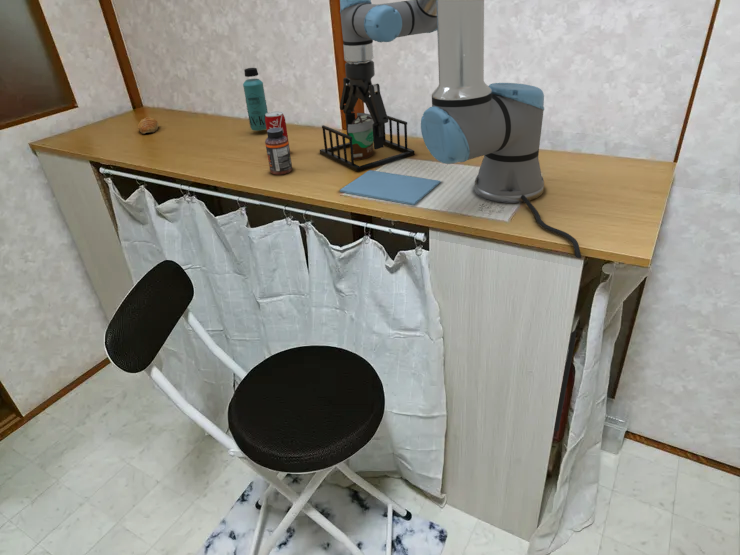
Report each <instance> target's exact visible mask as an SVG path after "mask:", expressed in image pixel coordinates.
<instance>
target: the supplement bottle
mask: <svg viewBox="0 0 740 555" xmlns="http://www.w3.org/2000/svg"><path fill="white" fill-rule="evenodd" d="M266 133H267V134H266V135H267V137H266V139H265V140H264V144H265V149H266V155H267V161H268V167H269V171H270V173H271V174H272V175H275V176H281V175H286V174H289V173H290V172H292V170H293V163H292V158H291V149H290V150H289V148H290V142H289V143H288V141H289V138H288V139H287V137H286V136H284V135H283V130H282V128H271V129H268V130H267V129H266Z"/></svg>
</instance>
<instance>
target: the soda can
mask: <svg viewBox="0 0 740 555" xmlns="http://www.w3.org/2000/svg"><path fill="white" fill-rule="evenodd" d="M265 123H266V129H265V130H266V131H267V130H268V129H271V128H282V130H283V135H284V136H286V137H287V139H288V143H289V144H290V141H289V135H288V130H287V123H286V117H285V115H284V112H283V111H280V110H275V111H274V110H273V111H269V112H268V113H266V114H265ZM289 150H290V151H291V149H290V147H289Z"/></svg>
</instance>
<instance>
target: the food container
mask: <svg viewBox="0 0 740 555" xmlns="http://www.w3.org/2000/svg"><path fill="white" fill-rule="evenodd" d="M356 116H357V117H355V120H353V122H352V124H351V125H348V133H349V136H351V137H352V145H353V157H354V161H358V160H365V159H368V158H370V157H372V156H373V155H374V142H373V123H374V122H373V119H372V117H371V115H370V113H365V112H356Z"/></svg>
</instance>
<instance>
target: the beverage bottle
mask: <svg viewBox="0 0 740 555" xmlns="http://www.w3.org/2000/svg"><path fill="white" fill-rule="evenodd" d="M258 71H259V70H258V68H257V67H248V68H245V69H244V77H247V78H248V79H246V80H245V81H244V82H243V83H242V87H243V92H244V98H245V104H246V111H247V116H248V122H249V128H250V130H251V131H257V132H258V131H265V130H267V129H266V123H265V114H266V113H269V112H268V105H267V100H266V93H265V88H264V82H263V81H262V79H260V78H252V77H257V76H259V72H258Z"/></svg>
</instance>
